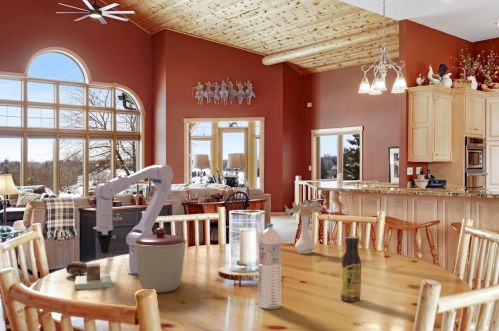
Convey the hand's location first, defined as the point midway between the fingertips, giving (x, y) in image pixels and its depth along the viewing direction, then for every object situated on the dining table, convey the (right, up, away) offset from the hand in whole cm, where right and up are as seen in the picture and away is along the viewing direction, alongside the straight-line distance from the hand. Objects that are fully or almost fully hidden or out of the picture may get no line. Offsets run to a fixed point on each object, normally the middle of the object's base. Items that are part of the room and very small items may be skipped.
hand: (104, 251), depth 182 cm
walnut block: (-1, -8, -10) cm, 13 cm away
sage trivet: (-1, -10, -10) cm, 14 cm away
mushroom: (-11, -10, +3) cm, 15 cm away
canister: (+24, -10, -16) cm, 31 cm away
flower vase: (+81, -10, +50) cm, 95 cm away
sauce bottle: (+87, -10, -29) cm, 92 cm away
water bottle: (+61, -11, -36) cm, 72 cm away
